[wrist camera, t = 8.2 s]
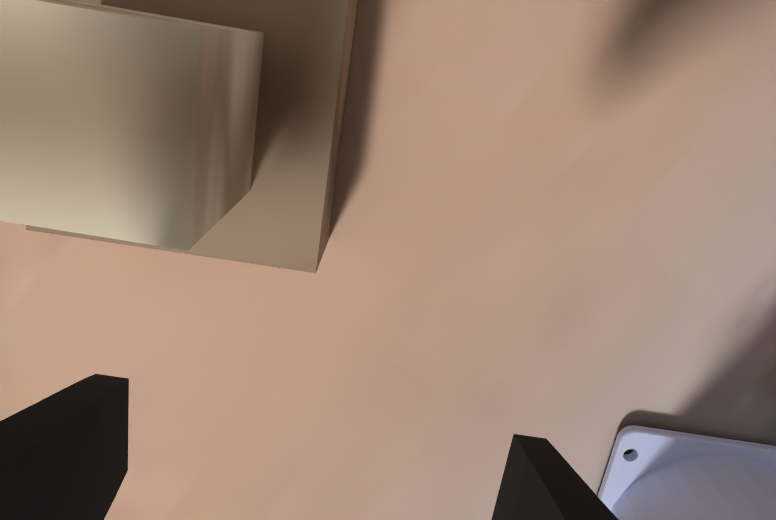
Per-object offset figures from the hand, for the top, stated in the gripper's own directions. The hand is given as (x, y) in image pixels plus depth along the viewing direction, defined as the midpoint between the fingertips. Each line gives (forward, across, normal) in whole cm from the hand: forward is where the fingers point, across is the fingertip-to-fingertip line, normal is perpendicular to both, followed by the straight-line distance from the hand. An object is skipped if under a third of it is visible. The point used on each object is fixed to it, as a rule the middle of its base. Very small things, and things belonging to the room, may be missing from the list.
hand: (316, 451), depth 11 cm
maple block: (+6, +5, -5) cm, 10 cm away
